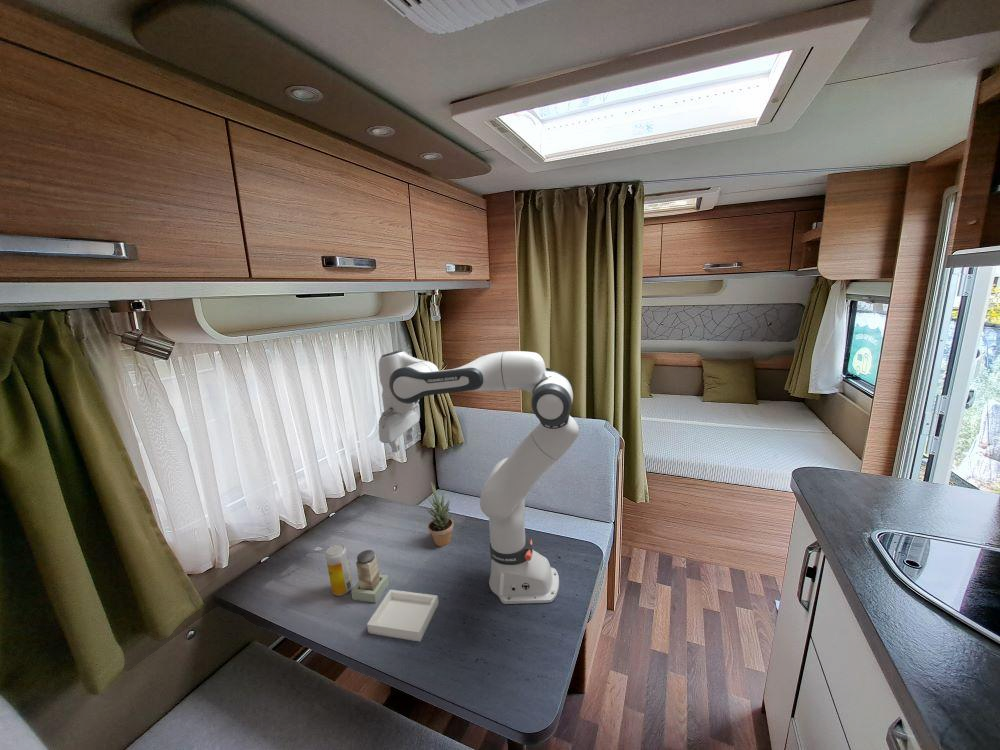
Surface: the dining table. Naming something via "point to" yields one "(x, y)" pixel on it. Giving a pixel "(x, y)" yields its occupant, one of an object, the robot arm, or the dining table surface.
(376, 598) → the socket block
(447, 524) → the potted plant
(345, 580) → the orange pill bottle
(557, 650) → the dining table surface
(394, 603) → the tray
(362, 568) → the wooden pepper mill
